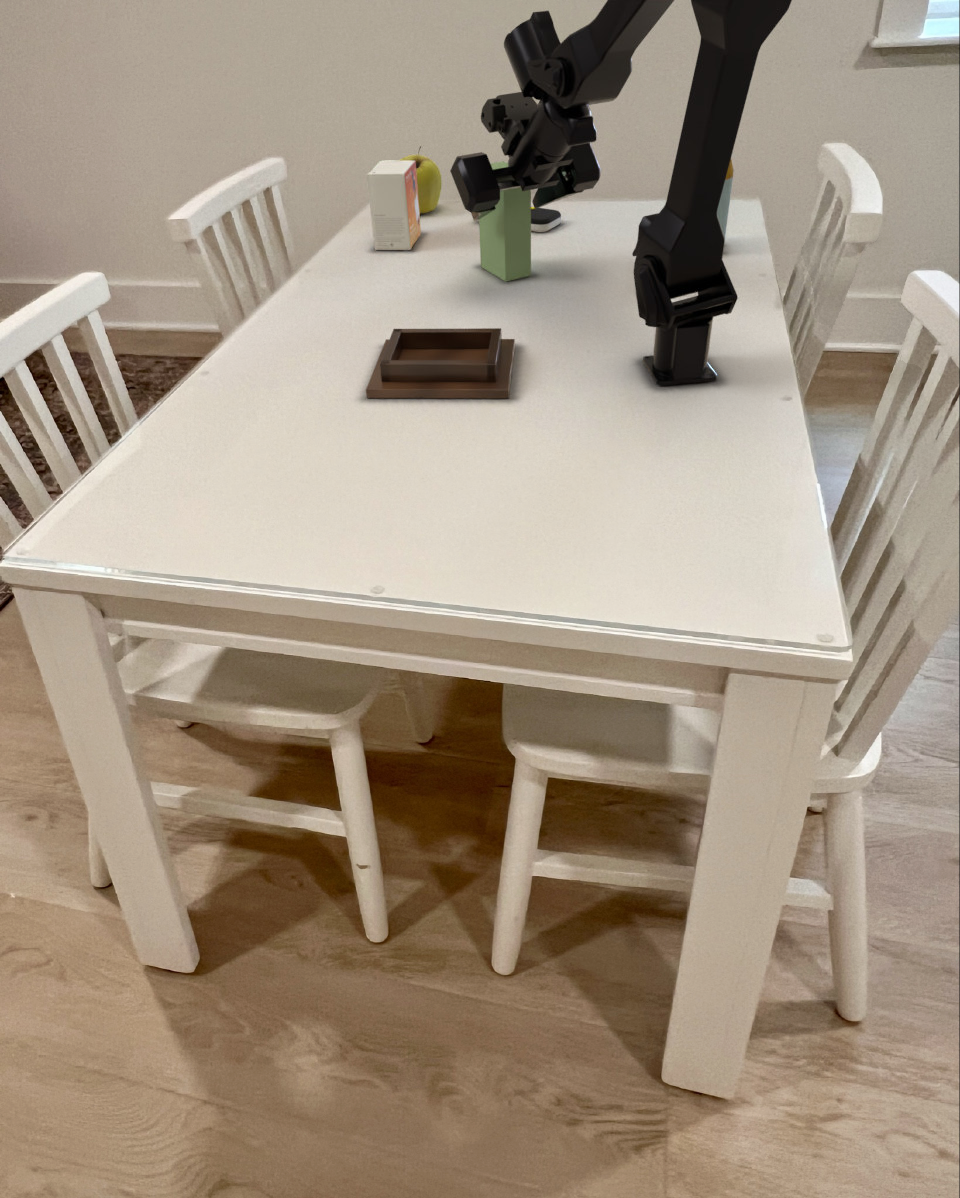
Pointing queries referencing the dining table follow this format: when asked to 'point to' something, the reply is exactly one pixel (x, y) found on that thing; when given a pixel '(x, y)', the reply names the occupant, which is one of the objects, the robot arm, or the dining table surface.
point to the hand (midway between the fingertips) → (504, 211)
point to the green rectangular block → (507, 234)
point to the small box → (394, 204)
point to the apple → (426, 182)
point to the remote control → (544, 219)
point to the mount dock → (443, 364)
